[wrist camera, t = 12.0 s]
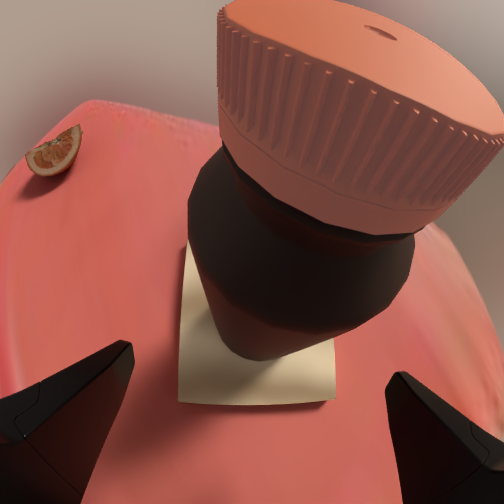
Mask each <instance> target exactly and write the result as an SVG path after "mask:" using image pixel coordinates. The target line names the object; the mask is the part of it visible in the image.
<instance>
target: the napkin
mask: <svg viewBox="0 0 504 504" xmlns="http://www.w3.org/2000/svg"><path fill="white" fill-rule="evenodd" d="M333 399H336V381H335V354H334V338H331V339H329V340H326V341H324V342H321V343H319V344H316V345H314V346H311V347H308V348H306V349H303V350H300V351H297V352H295V353H292V354H289V355H286V356H283V357H280V358H277V359H274V360H268V361H260V362H258V361H253V360H248V359H244V358H242V357H240V356H239V355H237V354H235V353H233V352H232V351H231V350H230V349H229V348H228V347H227V346H226V345H225V344H224V342H223V341H222V339H221V337H220V335H219V333H218V330H217V328H216V325H215V322H214V319H213V316H212V313H211V310H210V308H209V305H208V302H207V298H206V295H205V292H204V289H203V286H202V283H201V280H200V277H199V274H198V270H197V267H196V264H195V261H194V257H193V254H192V251H191V247H190V244H189V241H187V250H186V260H185V270H184V281H183V293H182V307H181V322H180V340H179V366H178V402H185V403H198V404H217V405H273V404H292V403H305V402H316V401H325V400H333Z"/></svg>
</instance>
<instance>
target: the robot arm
mask: <svg viewBox="0 0 504 504" xmlns="http://www.w3.org/2000/svg"><path fill="white" fill-rule="evenodd" d="M134 365H135V359H134V353H133V346H132V343H131V342H128V341H124V340H118V341H116V342H114V343H112V344H111V345H109V346H107V347H105V348H103V349H101V350H99V351H97V352H96V353H94V354H92V355H90V356H88V357H86V358H84V359H82V360H80V361H78V362H77V363H75V364H73V365H71V366H69V367H67V368H65V369H63V370H61V371H59V372H57V373H56V374H54V375H52V376H50V377H48V378H46V379H44V380H42V381H41V382H38V383H36V384H34V385H32V386H30V387H28V388H26V389H24V390H22V391H19V392H17V393H15V394H12V395H10V396H7V397H4V398H2V399H0V504H81V501H82V498H83V497H82V496H83V495H84V492H85V490H86V487H87V485H88V482H89V479H90V477H91V474H92V472H93V469H94V467H95V464H96V462H97V459H98V457H99V455H100V452H101V450H102V448H103V445H104V443H105V440H106V438H107V436H108V434H109V431H110V429H111V427H112V424H113V422H114V420H115V418H116V416H117V413H118V411H119V409H120V407H121V404H122V402H123V399H124V396H125V393H126V390H127V386H128V383H129V380H130V377H131V374H132V371H133V368H134ZM385 398H386V405H387V413H388V421H389V428H390V433H391V438H392V443H393V447H394V452H395V457H396V463H397V468H398V474H399V480H400V486H401V493H402V500H403V504H504V442H502V441H500V440H499V439H497V438H495V437H494V436H492V435H491V434H489V433H488V432H486V431H484V430H483V429H482V428H480V427H479V426H478V425H476V424H475V423H474V422H472V421H471V420H469V419H468V418H467V417H465V416H464V415H463V414H462V413H460V412H459V411H458V410H456V409H455V408H454V407H452V406H451V405H450V404H448V403H447V402H446V401H444V400H443V399H442V398H440V397H439V396H438V395H436V394H435V393H434V392H432V391H431V390H430V389H428V388H427V387H426V386H424V385H423V384H422V383H420V382H419V381H418V380H416V379H415V378H414V377H412V376H411V375H410V374H409V373H407V372H405V371H398V372H395V373H394V374H393V376H392V378H391V379H390V381H389V383H388V384H387V386H386V388H385Z"/></svg>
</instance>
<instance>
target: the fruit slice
mask: <svg viewBox="0 0 504 504" xmlns="http://www.w3.org/2000/svg"><path fill="white" fill-rule="evenodd" d="M82 133H83V131H81V127H80V124H78V125H76V126H74V127H72V128H70V129H68V130H66V131H64V132H63V133H61V134H60V135H58V137H57V138H56V139H54V140H52V141H49V142H45V143H43V144H42V145H40V146H38V147H37V148H34V149H33V150H31V151H30V152H28V153H27V154H25V157H26V161H27V164H28V167H29V168H30V170H31V171H33V173H35V174H36V175H39V176H54V175H57V174H60V173H61V172H63V171H65V170H66V169H67V168H69V167H70V166H71V164H72V163H73V162H74V160H75V158H76V157H77V154H78V151H79V148H80V145H81V141H82V137H81V135H82Z"/></svg>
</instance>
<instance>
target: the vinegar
mask: <svg viewBox="0 0 504 504" xmlns="http://www.w3.org/2000/svg"><path fill="white" fill-rule="evenodd" d="M217 87H218V115H219V130H220V137H221V139H222V147H221V148H220V149H219V150H218V151H217V152H216V153H215V154H214V155H213V156H212V157H211V158H210V159H209V160H208V161H207V162H206V164H205V165H204V166H203V167H202V168H201V169H200V172H199V174H198V176H197V179H196V181H195V184H194V186H193V189H192V191H191V194H190V196H189V199H188V241H189V244H190V247H191V251H192V254H193V257H194V261H195V264H196V267H197V270H198V274H199V277H200V280H201V283H202V286H203V289H204V292H205V295H206V298H207V302H208V305H209V308H210V310H211V313H212V316H213V319H214V322H215V325H216V328H217V330H218V333H219V335H220V337H221V339H222V341H223V342H224V344H225V345H226V346H227V347H228V348H229V349H230V350H231V351H232V352H233V353H235V354H237V355H239V356H240V357H242V358H244V359H248V360H253V361H258V362H260V361H268V360H274V359H277V358H280V357H283V356H286V355H289V354H292V353H295V352H297V351H300V350H303V349H306V348H308V347H311V346H314V345H316V344H319V343H321V342H324V341H326V340H329V339H331V338H334V337H336V336H339V335H341V334H344V333H346V332H348V331H351V330H353V329H355V328H357V327H358V326H360V325H362V324H363V323H365V322H366V321H368V320H370V319H371V318H373V317H374V316H376V315H377V314H379V313H380V312H382V311H383V310H385V309H386V308H387V307H388V306H389V305H390V304H391V302H392V301H393V299H394V298H395V297H396V295H397V294H398V292H399V291H400V289H401V288H402V286H403V285H404V283H405V282H406V280H407V278H408V276H409V272H410V268H411V263H412V259H413V254H414V249H415V239H414V234H415V233H417V232H418V231H420V230H422V229H423V228H424V227H425V226H426V225H427V224H429V223H431V222H432V221H434V220H436V219H437V218H438V217H440V216H441V215H442V214H443V213H444V212H445V211H446V210H447V209H448V208H449V207H450V206H451V205H452V204H453V203H454V202H455V201H456V200H457V198H458V197H460V195H462V193H463V192H464V191H465V189H467V188H468V186H469V185H470V184H471V183H472V182H473V181H474V180H475V179H476V178H477V177H478V176H479V175H480V173H481V172H482V171H483V170H484V169H485V168H486V167H487V165H488V164H489V163H490V162H491V161H492V160H493V158H494V157H495V156H496V155H497V153H498V152H499V151H500V150H501V149H502V147H503V146H504V115H503V113H502V111H501V109H500V107H499V105H498V104H497V102H496V100H495V99H494V98H493V96H492V95H491V94H490V93H489V92H488V90H487V89H486V88H485V87H484V85H483V84H482V83H481V82H480V81H479V80H478V79H477V78H476V77H475V76H474V75H473V74H472V73H471V72H470V71H469V70H468V69H467V68H466V67H464V66H463V65H462V64H461V63H460V62H459V61H458V60H456V59H455V58H454V57H453V56H451V55H450V54H449V53H447V52H446V51H444V50H443V49H441V48H440V47H439V46H437V45H436V44H434V43H433V42H431V41H430V40H428V39H426V38H425V37H423V36H422V35H419V34H418V33H416V32H414V31H413V30H411V29H409V28H407V27H405V26H403V25H401V24H399V23H397V22H395V21H393V20H390V19H388V18H386V17H383V16H381V15H379V14H376V13H373V12H371V11H368V10H365V9H362V8H359V7H356V6H352V5H349V4H346V3H342V2H337V1H333V0H235V1H233V2H232V3H230V4H228V5H226V6H225V7H222V9H221V10H219V12H218V16H217Z"/></svg>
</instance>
